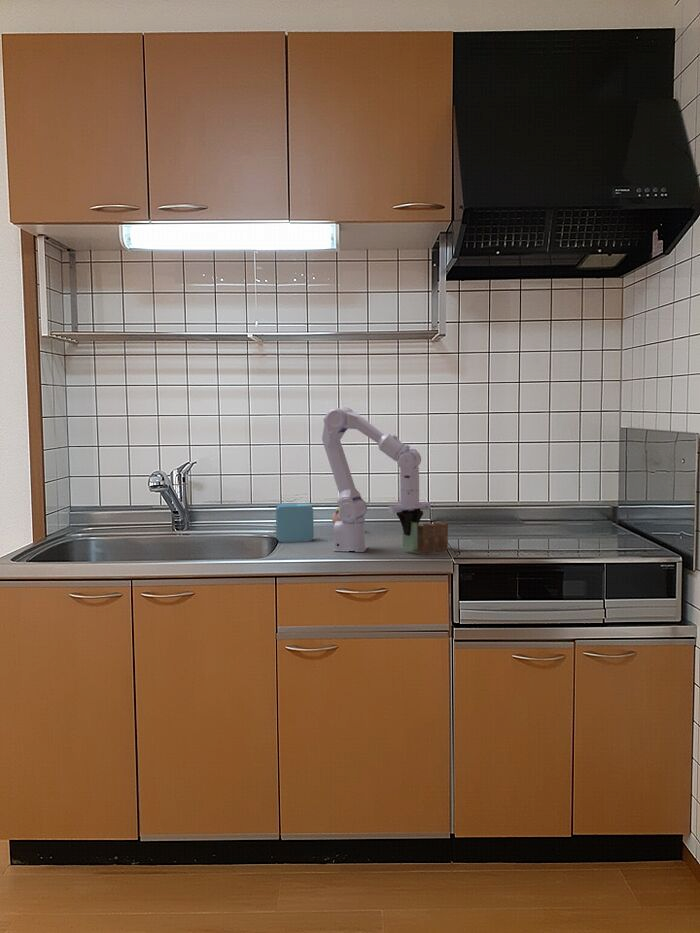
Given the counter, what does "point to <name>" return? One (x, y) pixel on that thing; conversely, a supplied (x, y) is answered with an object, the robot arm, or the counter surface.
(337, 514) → the decorative fruit
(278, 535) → the blue square slab
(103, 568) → the counter surface
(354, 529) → the robot arm
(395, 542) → the counter surface
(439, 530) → the walnut domino
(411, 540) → the green domino
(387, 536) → the counter surface
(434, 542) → the walnut domino
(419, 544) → the walnut domino
